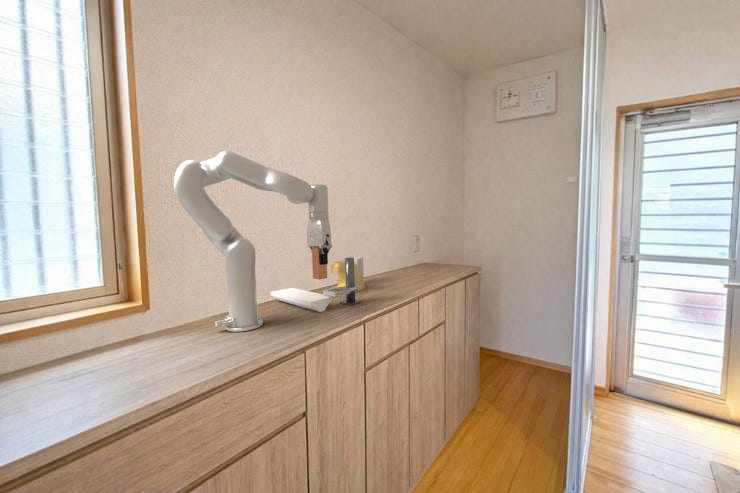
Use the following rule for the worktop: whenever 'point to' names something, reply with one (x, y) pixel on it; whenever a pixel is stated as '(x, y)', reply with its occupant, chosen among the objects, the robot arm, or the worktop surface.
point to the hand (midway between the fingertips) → (320, 263)
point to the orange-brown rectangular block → (318, 265)
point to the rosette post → (347, 285)
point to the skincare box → (359, 264)
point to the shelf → (303, 298)
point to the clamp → (339, 269)
